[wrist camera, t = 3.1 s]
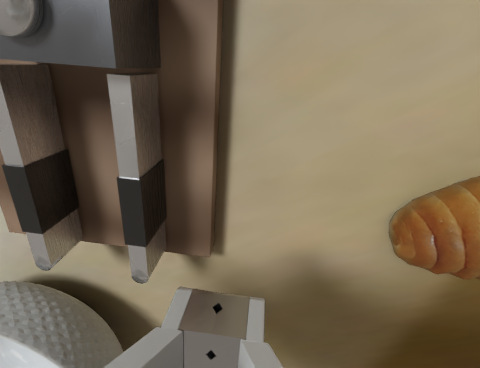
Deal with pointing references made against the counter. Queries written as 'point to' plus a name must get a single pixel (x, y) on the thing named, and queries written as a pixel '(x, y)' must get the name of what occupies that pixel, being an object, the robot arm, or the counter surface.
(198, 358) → the robot arm
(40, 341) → the cereal bowl
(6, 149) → the fixed tong arm
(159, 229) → the loose tong arm
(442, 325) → the counter surface
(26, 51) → the tong hinge
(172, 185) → the walnut board
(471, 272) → the pastry
